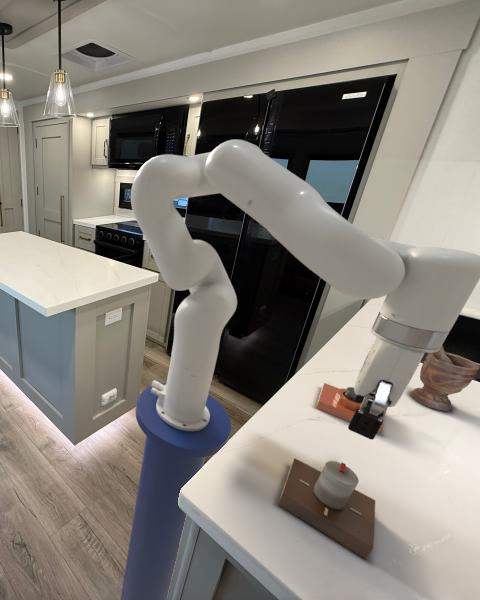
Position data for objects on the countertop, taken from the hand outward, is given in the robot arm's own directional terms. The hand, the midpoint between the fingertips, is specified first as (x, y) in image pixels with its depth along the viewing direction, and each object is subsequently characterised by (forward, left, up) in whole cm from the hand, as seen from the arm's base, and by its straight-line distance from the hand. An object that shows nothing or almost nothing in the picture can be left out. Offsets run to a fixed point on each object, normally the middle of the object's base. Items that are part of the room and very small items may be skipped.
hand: (363, 418), depth 53 cm
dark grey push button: (+1, +28, -12) cm, 30 cm away
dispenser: (+1, +28, -16) cm, 32 cm away
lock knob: (0, -7, -13) cm, 15 cm away
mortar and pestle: (+15, +48, -16) cm, 52 cm away
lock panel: (0, -7, -16) cm, 18 cm away
